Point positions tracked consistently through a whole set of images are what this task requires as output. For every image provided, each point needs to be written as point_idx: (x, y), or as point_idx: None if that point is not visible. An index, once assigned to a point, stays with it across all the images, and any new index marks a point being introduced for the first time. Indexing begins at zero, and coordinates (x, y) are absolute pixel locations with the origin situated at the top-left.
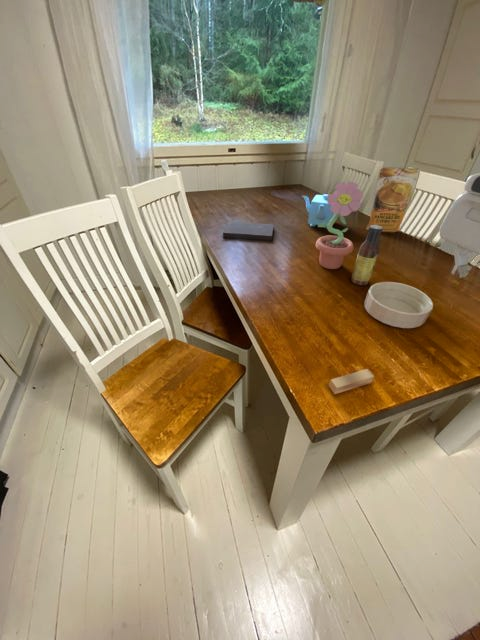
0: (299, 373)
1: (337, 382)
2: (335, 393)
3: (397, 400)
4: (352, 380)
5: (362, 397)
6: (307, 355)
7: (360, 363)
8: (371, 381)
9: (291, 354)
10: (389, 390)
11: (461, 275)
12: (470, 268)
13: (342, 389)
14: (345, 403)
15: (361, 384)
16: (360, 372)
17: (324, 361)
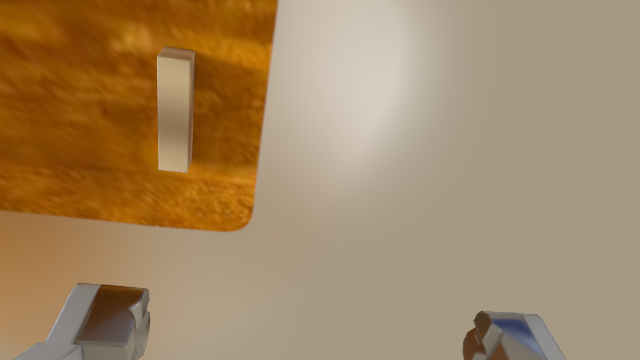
0: (104, 189)
1: (173, 162)
2: (191, 158)
3: (270, 33)
4: (180, 125)
5: (225, 107)
6: (43, 137)
7: (116, 18)
8: (193, 55)
9: (30, 172)
10: (236, 24)
11: (145, 336)
12: (129, 338)
13: (190, 147)
14: (222, 152)
15: (192, 89)
16: (163, 86)
17: (79, 110)
